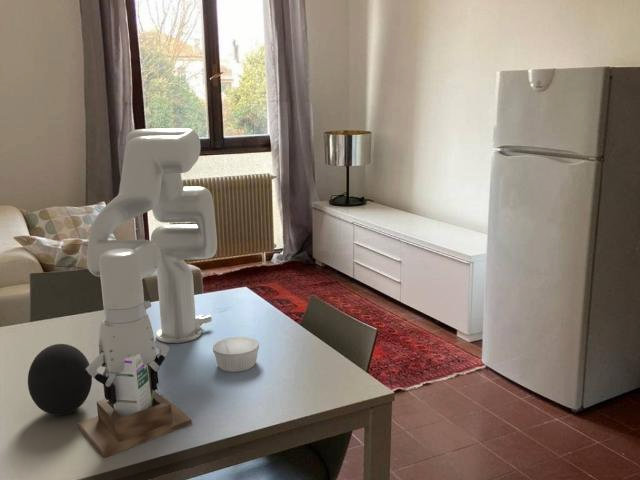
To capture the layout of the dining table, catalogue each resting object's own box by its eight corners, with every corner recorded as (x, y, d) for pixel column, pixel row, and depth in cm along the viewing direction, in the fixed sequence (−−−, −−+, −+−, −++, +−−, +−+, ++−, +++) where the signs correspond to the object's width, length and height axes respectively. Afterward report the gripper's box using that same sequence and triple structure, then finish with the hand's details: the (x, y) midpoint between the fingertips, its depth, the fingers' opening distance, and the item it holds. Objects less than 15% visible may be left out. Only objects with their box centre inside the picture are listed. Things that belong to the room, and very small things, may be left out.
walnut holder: (161, 398, 132) (160, 377, 131) (191, 423, 122) (190, 401, 120) (79, 426, 121) (76, 404, 120) (104, 457, 110) (101, 433, 109)
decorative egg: (31, 432, 119) (22, 363, 116) (33, 404, 130) (24, 340, 127) (97, 419, 124) (89, 352, 120) (93, 393, 135) (86, 331, 131)
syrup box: (141, 425, 118) (135, 358, 114) (114, 423, 119) (107, 355, 115) (154, 411, 123) (149, 346, 120) (128, 408, 124) (122, 343, 121)
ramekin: (205, 365, 148) (203, 345, 147) (239, 351, 156) (238, 332, 155) (233, 379, 141) (232, 358, 140) (268, 363, 149) (267, 344, 148)
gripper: (158, 297, 124) (164, 375, 128) (72, 317, 113) (82, 401, 117) (174, 307, 118) (180, 387, 122) (86, 329, 107) (95, 416, 111)
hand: (132, 394), depth 120 cm, fingers closed on syrup box, 8 cm apart
